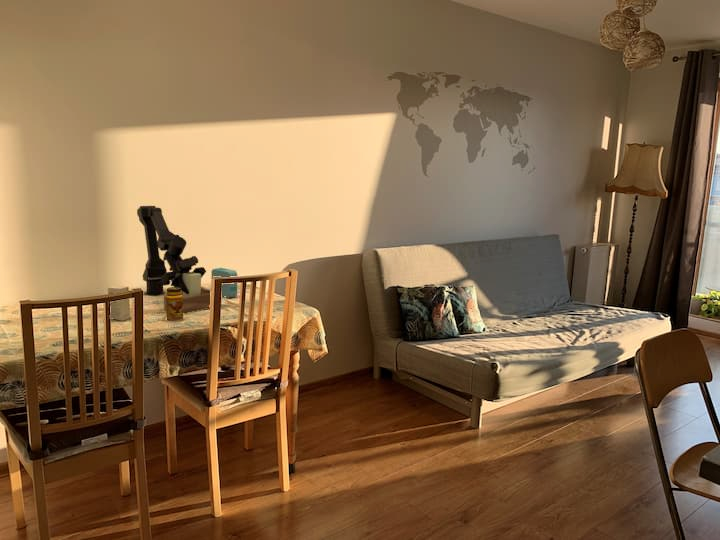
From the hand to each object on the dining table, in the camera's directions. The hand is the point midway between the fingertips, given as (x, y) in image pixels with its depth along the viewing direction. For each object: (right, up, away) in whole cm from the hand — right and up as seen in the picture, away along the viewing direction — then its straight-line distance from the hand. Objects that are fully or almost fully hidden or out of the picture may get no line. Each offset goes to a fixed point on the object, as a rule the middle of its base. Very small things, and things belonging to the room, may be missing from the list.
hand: (193, 292), depth 236 cm
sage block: (-2, -6, +2) cm, 7 cm away
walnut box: (-1, -6, +2) cm, 7 cm away
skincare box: (-23, -9, -18) cm, 30 cm away
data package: (+6, -3, +25) cm, 26 cm away
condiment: (-4, -10, -15) cm, 18 cm away
